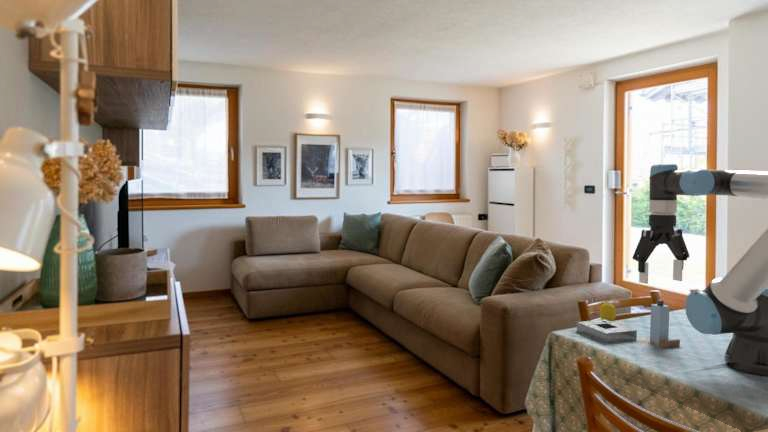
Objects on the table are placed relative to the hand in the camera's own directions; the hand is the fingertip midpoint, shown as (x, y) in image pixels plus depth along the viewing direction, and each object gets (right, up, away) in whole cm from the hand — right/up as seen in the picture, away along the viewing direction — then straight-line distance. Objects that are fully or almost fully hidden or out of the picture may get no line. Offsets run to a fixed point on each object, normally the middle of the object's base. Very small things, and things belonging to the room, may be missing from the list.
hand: (660, 281), depth 161 cm
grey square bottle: (0, -19, +1) cm, 20 cm away
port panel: (-13, -20, +10) cm, 26 cm away
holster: (0, -20, +1) cm, 21 cm away
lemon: (-5, -19, +27) cm, 33 cm away
